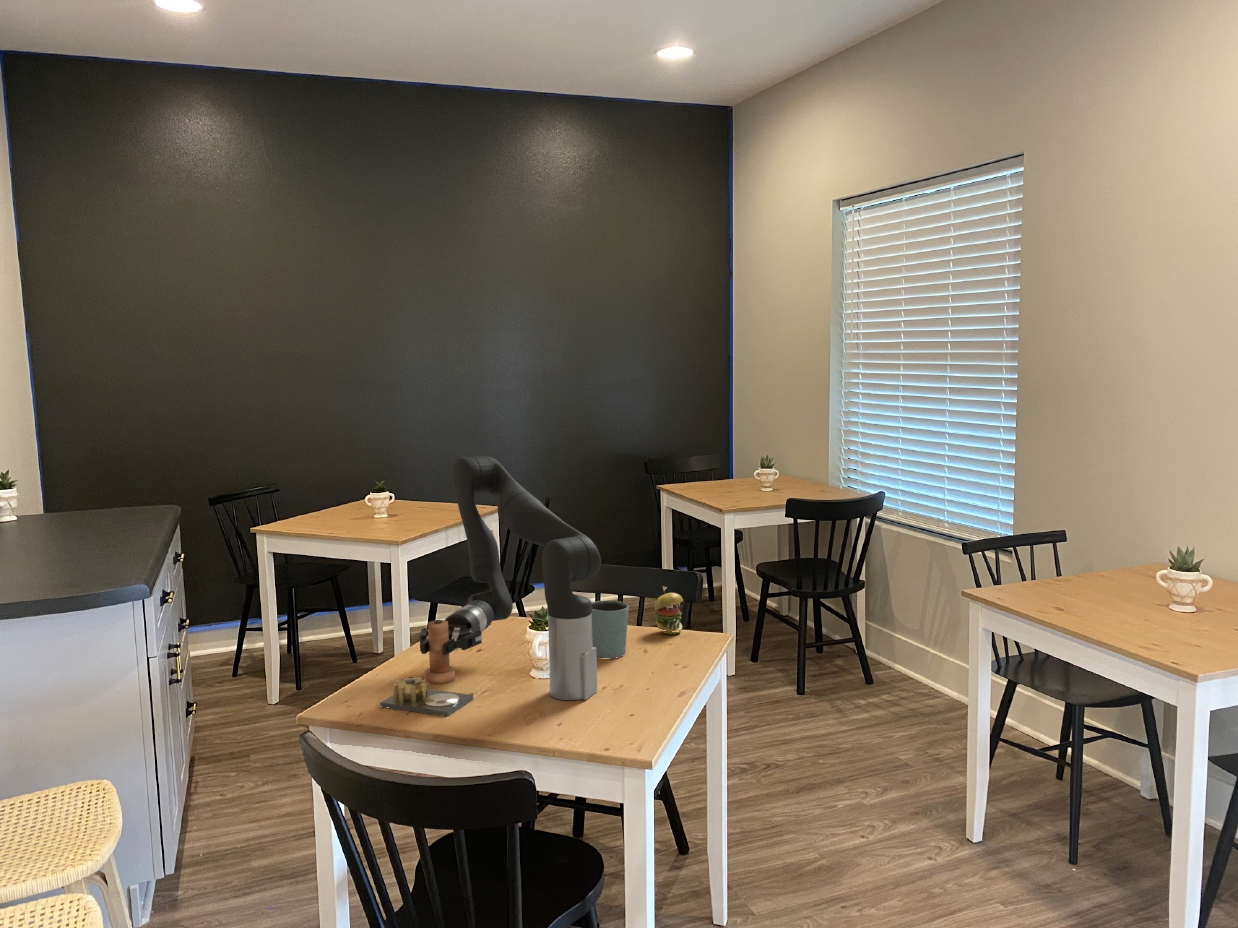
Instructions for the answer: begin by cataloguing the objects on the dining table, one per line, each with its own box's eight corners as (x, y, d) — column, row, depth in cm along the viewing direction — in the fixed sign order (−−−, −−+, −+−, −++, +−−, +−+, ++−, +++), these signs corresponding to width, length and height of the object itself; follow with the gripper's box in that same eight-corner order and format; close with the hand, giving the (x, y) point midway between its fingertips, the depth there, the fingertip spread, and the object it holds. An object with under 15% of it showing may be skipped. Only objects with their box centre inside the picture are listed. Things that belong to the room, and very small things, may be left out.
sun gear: (433, 692, 192) (433, 677, 191) (415, 703, 185) (414, 687, 185) (406, 689, 194) (405, 673, 194) (387, 700, 188) (386, 684, 188)
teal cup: (589, 647, 225) (588, 600, 224) (630, 647, 225) (629, 599, 223) (586, 660, 215) (585, 610, 214) (629, 660, 214) (628, 610, 213)
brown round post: (460, 676, 189) (458, 618, 187) (444, 686, 183) (442, 626, 182) (435, 673, 191) (433, 615, 189) (419, 682, 185) (417, 623, 184)
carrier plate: (473, 699, 190) (473, 693, 190) (447, 716, 181) (447, 710, 181) (408, 691, 196) (408, 685, 196) (380, 707, 187) (380, 700, 187)
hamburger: (668, 638, 232) (668, 591, 231) (648, 632, 237) (648, 587, 236) (689, 632, 237) (688, 586, 236) (669, 626, 242) (668, 582, 241)
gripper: (433, 607, 201) (399, 629, 184) (495, 610, 198) (466, 633, 181) (434, 640, 202) (401, 665, 185) (495, 643, 199) (467, 669, 182)
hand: (433, 649), depth 183 cm, fingers closed on brown round post, 4 cm apart
